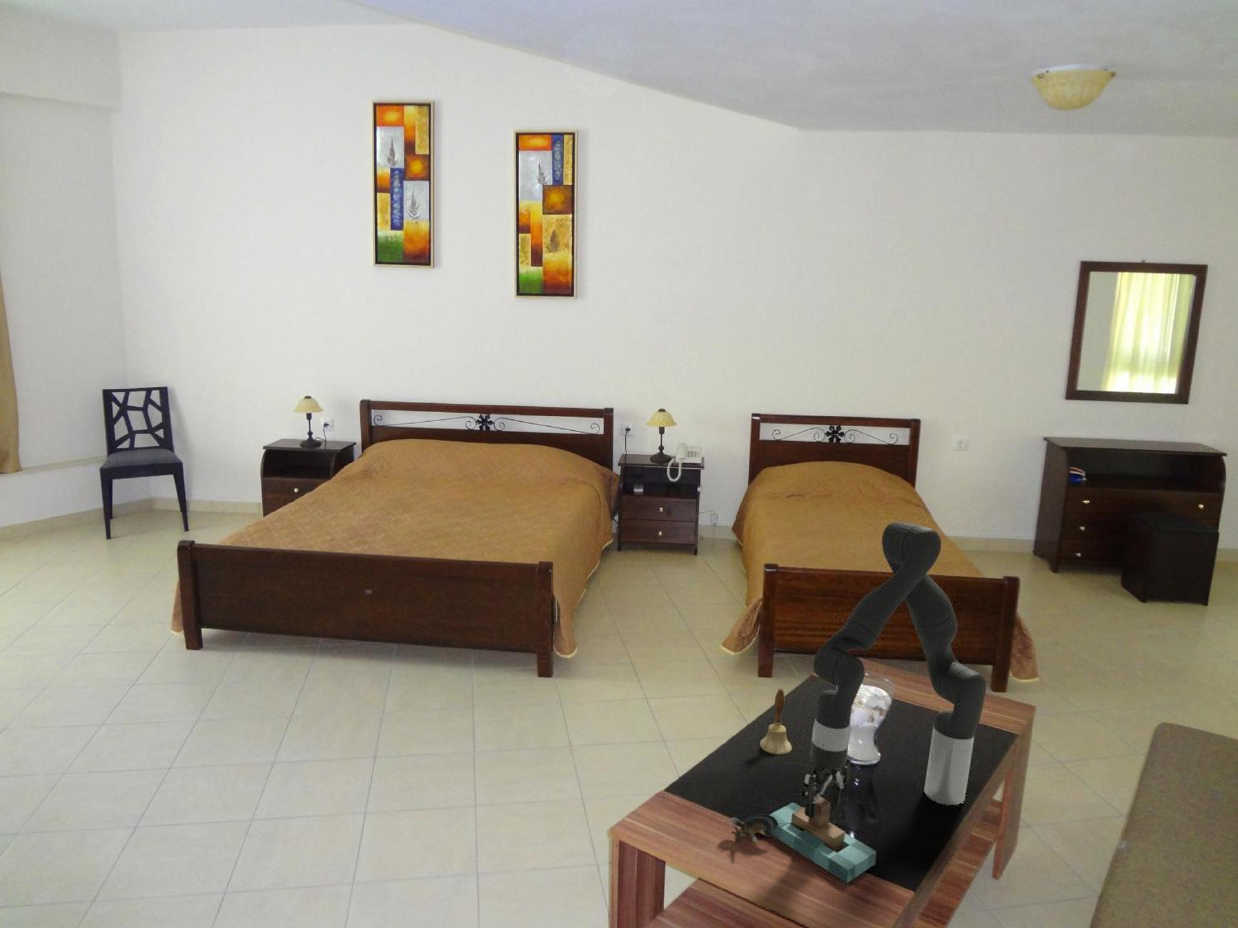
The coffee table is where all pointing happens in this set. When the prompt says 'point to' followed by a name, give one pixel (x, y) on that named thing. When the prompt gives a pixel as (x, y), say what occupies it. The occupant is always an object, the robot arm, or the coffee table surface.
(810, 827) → the wooden forked block
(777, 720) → the hand bell
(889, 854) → the coffee table surface
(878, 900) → the coffee table surface
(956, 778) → the robot arm
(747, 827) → the brown animal figure
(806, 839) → the teal block with holes
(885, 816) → the coffee table surface
